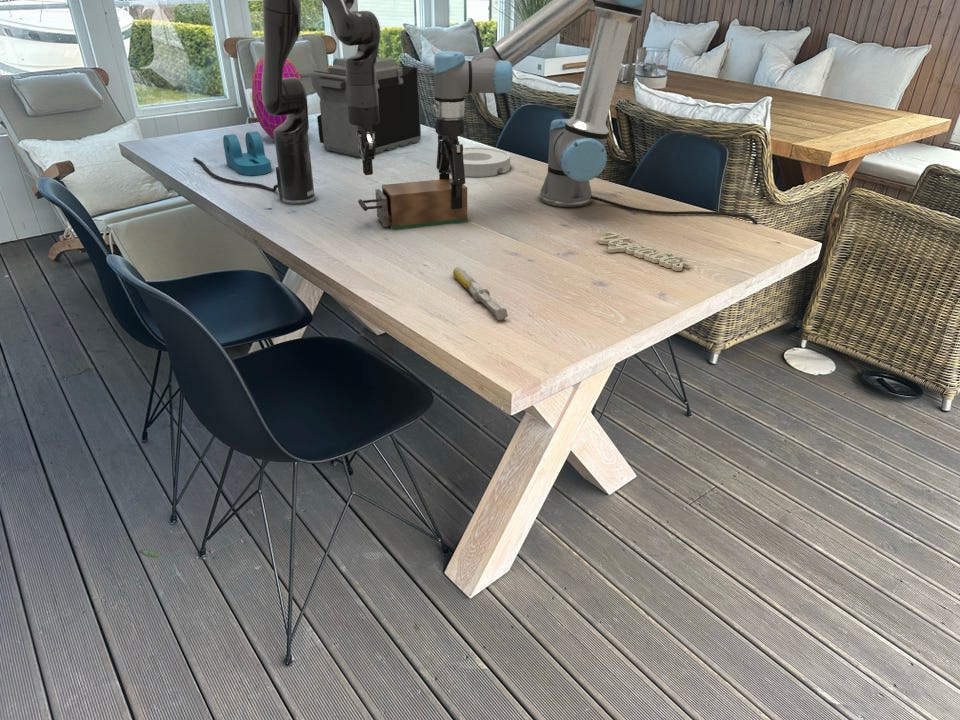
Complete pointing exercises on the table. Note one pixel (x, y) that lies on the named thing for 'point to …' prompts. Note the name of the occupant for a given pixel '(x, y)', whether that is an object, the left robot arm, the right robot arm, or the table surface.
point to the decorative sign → (642, 251)
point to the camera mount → (246, 154)
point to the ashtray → (484, 161)
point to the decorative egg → (264, 118)
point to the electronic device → (394, 107)
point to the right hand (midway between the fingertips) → (450, 202)
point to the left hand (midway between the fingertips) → (368, 174)
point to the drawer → (379, 206)
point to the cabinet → (424, 204)
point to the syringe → (479, 293)
